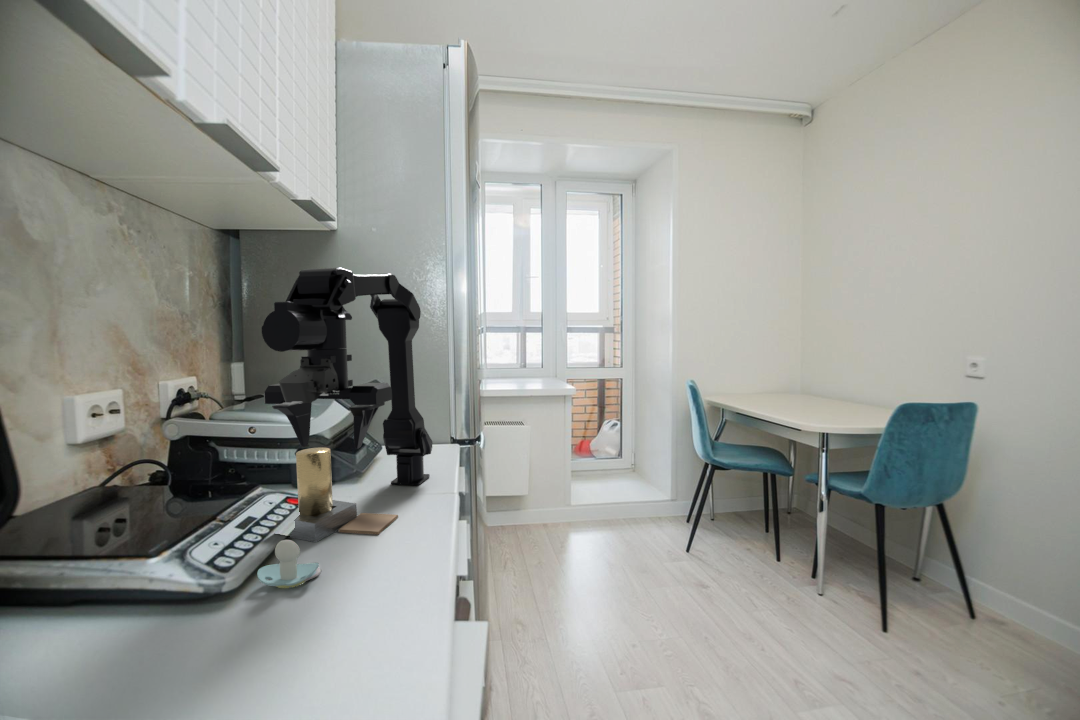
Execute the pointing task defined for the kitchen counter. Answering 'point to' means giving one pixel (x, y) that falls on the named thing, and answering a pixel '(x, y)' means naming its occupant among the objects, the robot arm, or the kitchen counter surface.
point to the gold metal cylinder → (314, 481)
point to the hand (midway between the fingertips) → (331, 447)
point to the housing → (324, 522)
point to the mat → (368, 523)
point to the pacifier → (287, 568)
